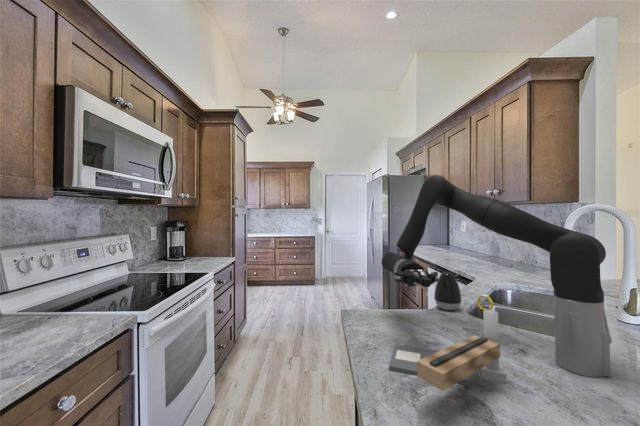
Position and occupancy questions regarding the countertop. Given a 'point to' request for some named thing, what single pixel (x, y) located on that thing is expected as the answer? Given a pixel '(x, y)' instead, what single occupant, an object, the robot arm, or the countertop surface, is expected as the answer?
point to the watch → (488, 299)
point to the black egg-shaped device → (447, 291)
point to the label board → (408, 356)
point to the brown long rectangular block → (457, 361)
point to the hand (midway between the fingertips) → (427, 283)
